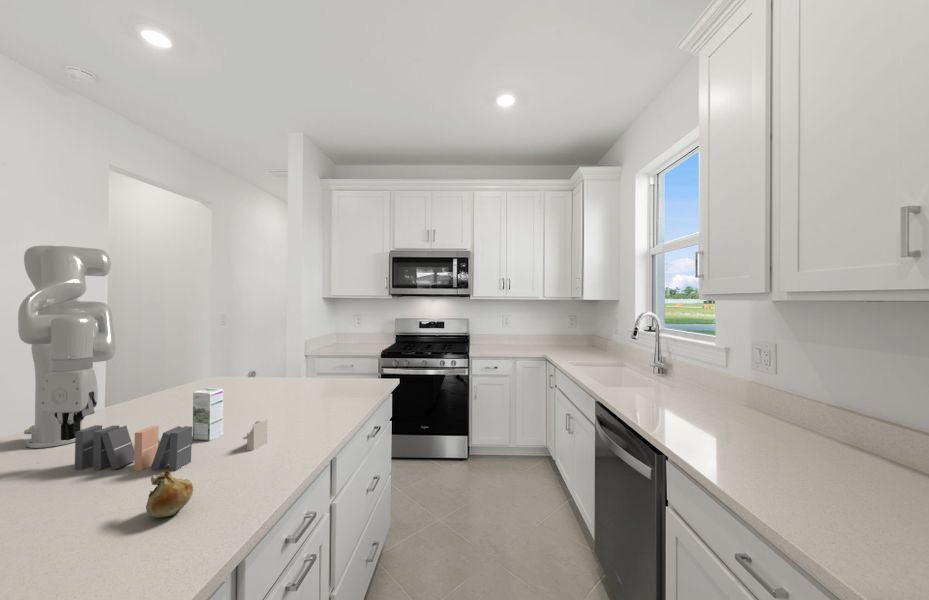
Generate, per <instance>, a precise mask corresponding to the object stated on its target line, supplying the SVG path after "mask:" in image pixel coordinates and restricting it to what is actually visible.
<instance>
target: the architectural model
mask: <svg viewBox="0 0 929 600" xmlns="http://www.w3.org/2000/svg"><path fill="white" fill-rule="evenodd" d="M268 433H270V430H268V419H264V420H261V421H259V420H256V421H255V423H254V424H253V425H252V428H251V430H250V431H249V432H247V433H246V436H243V437H242V439H243V440H246V441H247V442H246V450H247V451H250V452H251V451H253V452H254V451H255V450H257V449H259V448H261V447H264V446H265V445H266V444H268Z"/></svg>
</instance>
